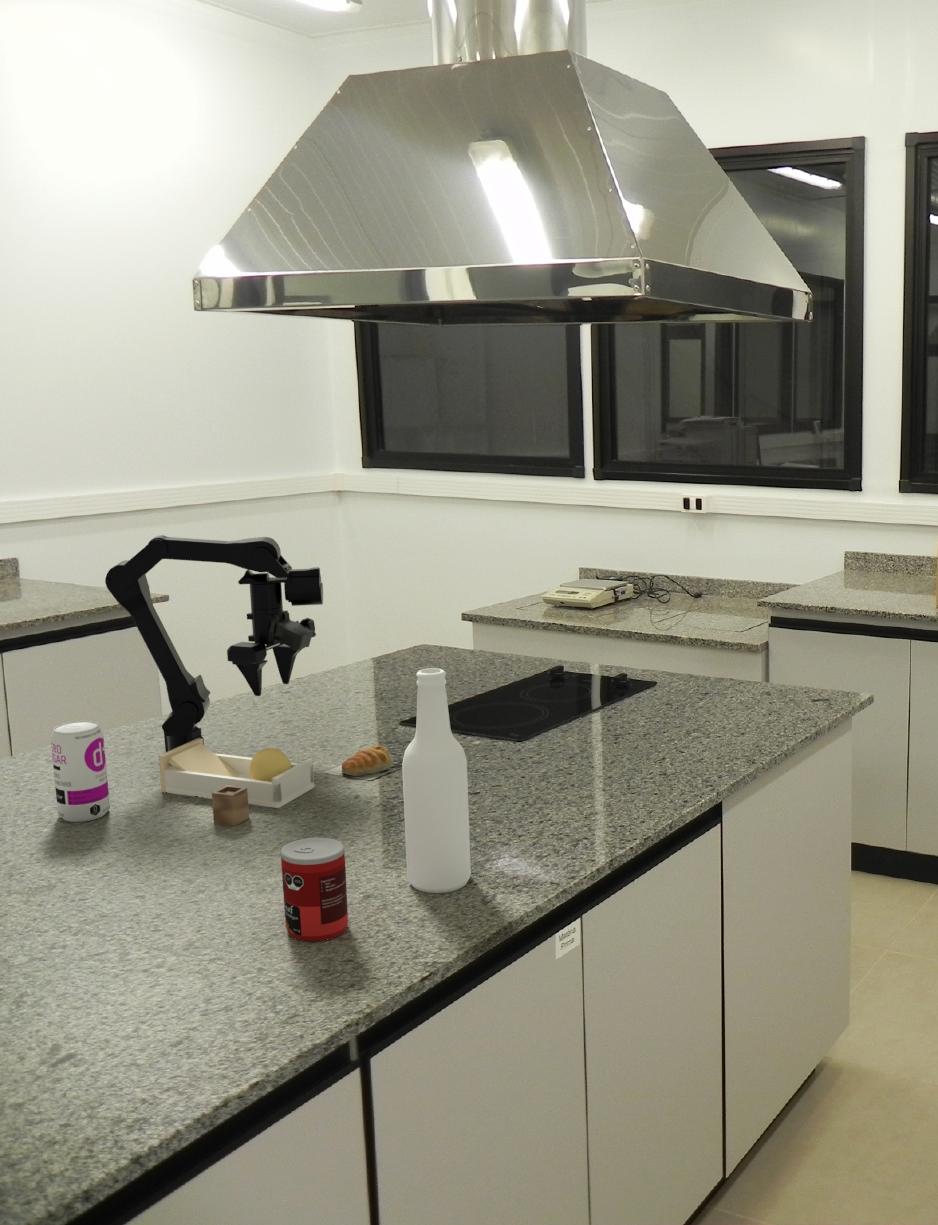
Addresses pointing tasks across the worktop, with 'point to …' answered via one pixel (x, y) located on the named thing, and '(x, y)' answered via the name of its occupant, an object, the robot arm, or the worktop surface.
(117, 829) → the worktop surface
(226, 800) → the wooden square cup
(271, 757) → the ball
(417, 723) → the alcohol
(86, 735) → the supplement can
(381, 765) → the pastry
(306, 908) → the canned food
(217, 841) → the worktop surface
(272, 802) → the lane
